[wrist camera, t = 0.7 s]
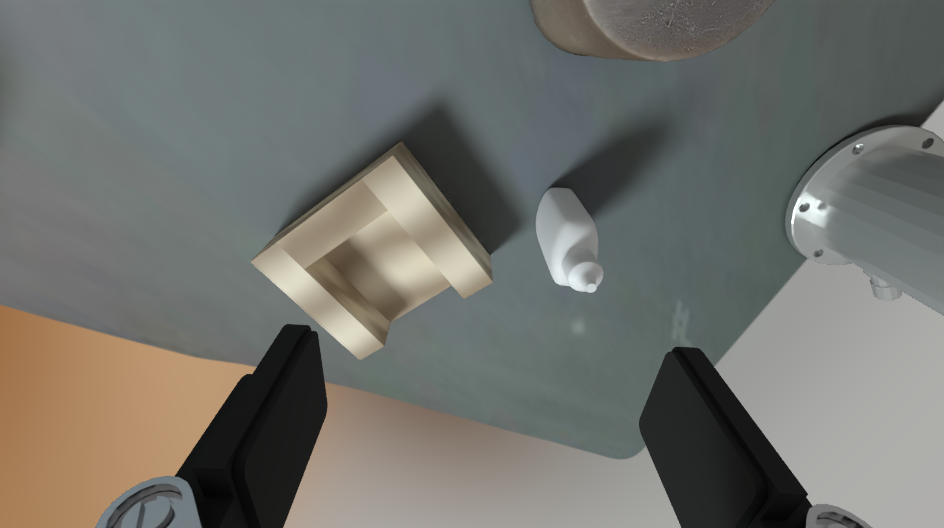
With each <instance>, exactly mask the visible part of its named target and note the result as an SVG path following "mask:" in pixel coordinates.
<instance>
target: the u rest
mask: <svg viewBox="0 0 944 528" xmlns="http://www.w3.org/2000/svg"><path fill="white" fill-rule="evenodd" d="M251 263H252V264H253V265H254V266H256V267H257V268H258V269H259V270H260V271H261V272H262V273H263V274H264V275H266V276H267V277H268V278H269V279H270V280H271V281H272V282H273V283H274V284H276V285H277V286H278V287H279V288H280V289H281V290H282V291H283V292H284V293H286V294H287V295H288V296H289V297H290V298H291V299H292V300H293V301H294V302H296V303H297V304H298V305H299V306H300V307H301V308H302V309H303V310H304V311H306V312H307V313H308V314H309V315H310V316H311V317H312V318H313V319H314V320H316V321H317V322H318V323H319V324H320V325H321V326H322V327H323V328H324V329H326V330H327V331H328V332H329V333H330V334H331V335H332V336H333V337H335V338H336V339H337V340H338V341H339V342H340V343H341V344H342V345H343V346H345V347H346V348H347V349H348V350H349V351H350V352H351V353H352V354H353V355H355V356H356V357H357V358H358V359H359V360H361V359H363V358H365V357H367V356H368V355H370V354H372V353H373V352H375V351H377V350H378V349H380V348H382V347H384V345H385V341H386V337H387V334H388V330H389V326H390V323H391V322H392V321H394V320H396V319H397V318H399V317H401V316H402V315H404V314H405V313H407V312H409V311H410V310H412V309H414V308H415V307H417V306H419V305H420V304H422V303H424V302H425V301H427V300H429V299H430V298H432V297H434V296H435V295H437V294H438V293H440V292H442V291H443V290H445V289H447V288H448V287H450V286H453V287H454V288H455V289H456V290H457V292H458V293H459V294H460V295H461V296H462V297H463V299H465V298H467V297H468V296H470V295H472V294H474V293H475V292H477V291H479V290H480V289H482V288H484V287H485V286H487V285H489V284H491V283H492V282H493V278H492V270H491V261H490V255H489V254H488V253H487V251H486V250H485V249H484V247H483V246H482V245H481V244H480V242H479V241H478V240H477V238H476V237H475V236H474V234H473V233H472V232H471V231H470V229H469V228H468V227H467V225H466V224H465V223H464V221H463V220H462V219H461V217H460V216H459V215H458V214H457V212H456V211H455V210H454V208H453V207H452V206H451V204H450V203H449V202H448V200H447V199H446V198H445V197H444V195H443V194H442V193H441V191H440V190H439V189H438V187H437V186H436V185H435V183H434V182H433V181H432V180H431V178H430V177H429V176H428V174H427V173H426V172H425V170H424V169H423V168H422V166H421V165H420V164H419V163H418V161H417V160H416V159H415V157H414V156H413V155H412V153H411V152H410V151H409V149H408V148H407V147H406V146H405V144H404V143H403V142H402V141H400V142H399V143H398V144H397V145H395V146H394V147H393V148H391V149H390V150H389V151H387V152H386V153H385V154H383V155H382V156H381V157H379V158H378V159H377V160H375V161H374V162H373V163H371V164H370V165H369V166H367V167H366V168H365V169H363V170H362V171H361V172H359V173H358V174H357V175H355V176H354V177H353V178H351V179H350V180H349V181H347V182H346V183H345V184H343V185H342V186H341V187H339V188H338V189H337V190H336V191H334V192H333V193H332V194H330V195H329V196H328V197H326V198H325V199H324V200H322V201H321V202H320V203H318V204H317V205H316V206H314V207H313V208H312V209H310V210H309V211H308V212H306V213H305V214H304V215H302V216H301V217H300V218H298V219H297V220H296V221H294V222H293V223H292V224H290V225H289V226H288V227H286V228H285V229H284V230H282V231H281V232H280V233H279V234H277V235H276V236H275V237H273V238H272V240H271V241H270V242H269V243H268V244H267V245H266V246H265V247H264V248H263V249H262V250H261V251H260V252H259V253H258V254H257V255H256V256H255V257H254V258H253V260H252V261H251Z"/></svg>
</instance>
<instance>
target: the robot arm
mask: <svg viewBox="0 0 944 528" xmlns="http://www.w3.org/2000/svg"><path fill="white" fill-rule="evenodd" d="M785 228H786V233H787V237H788V239H789V241H790V243H791V245H792V246H793V247H794V248H795V249H796V250H797V251H798V252H799V253H801V254H803V255H804V256H805V257H807V258H808V259H811V260H813V261H815V262H818V263H822V264H827V265H844V264H851V263H854V264H855V265H857V266H859V267H860V268H862V269H863V272H864V273H865V274H866V275H867V276H869V277H870V278H871V279H870V283H871V287H872V291H873V294H874V296H875V297H876V298H877V299H880V300H885V301H889V300H895V299H898V298H899V297H900V296H901V295H902V292H904V293H906V294H907V295H909V296H911V297H912V298H914V299H916V300H918V301H919V302H921V303H923V304H924V305H926V306H928V307H930V308H931V309H933V310H935V311H936V312H938V313H940V314H942V315H943V316H944V142H943V140H942V139H941V138H939V137H938V136H937V135H936V134H935V133H933V132H930V131H928V130H926V129H923V128H919V127H914V126H909V125H886V126H880V127H875V128H872V129H869V130H866V131H863V132H860V133H858V134H856V135H854V136H852V137H850V138H848V139H846V140H844V141H842V142H841V143H839V144H838V145H837V146H835V147H834V148H832V149H831V150H829V151H828V152H827V153H826V154H824V155H823V156H822V157H821V158H820V159H819V160H818V161H816V162H815V163H814V165H813V166H812V167H811V168H810V169H809V170H808V171H807V172H806V174H805V175H804V176H803V177H802V179H801V180H800V182H799V183H798V185H797V186H796V188H795V190H794V192H793V194H792V196H791V199H790V201H789V204H788V208H787V211H786V219H785ZM326 413H327V397H326V389H325V382H324V375H323V368H322V361H321V354H320V346H319V339H318V334H317V332H316V331H311V328H310V326H308V325H293V324H286V325H285V326H284V327H283V328H282V329H281V331H280V333H279V334H278V336H277V337H276V339H275V340H274V342H273V343H272V345H271V346H270V348H269V349H268V351H267V353H266V354H265V356H264V357H263V359H262V360H261V362H260V363H259V365H258V366H257V368H256V370H255V371H254V373H253V374H246V375H245V376H243V377H242V378H241V379H240V381H239V382H238V383H237V385H236V386H235V388H234V389H233V391H232V392H231V394H230V395H229V397H228V398H227V400H226V401H225V403H224V404H223V405H222V407H221V409H220V410H219V411H218V413H217V414H216V416H215V417H214V419H213V420H212V422H211V423H210V425H209V426H208V428H207V429H206V431H205V432H204V434H203V435H202V437H201V438H200V440H199V441H198V443H197V444H196V446H195V447H194V448H193V450H192V451H191V453H190V454H189V456H188V457H187V459H186V460H185V462H184V463H183V465H182V466H181V468H180V469H179V471H178V472H177V474H176V475H175V477H173V476H164V477H157V478H153V479H150V480H148V481H145V482H142V483H140V484H138V485H136V486H135V487H133V488H131V489H130V490H128V491H126V492H125V493H124V494H122V495H121V496H120V497H119V498H117V499H116V500H115V501H114V502H112V504H111V505H110V506H109V507H108V508H107V509H106V511H105V512H104V513H103V514H102V516H101V517H100V519H99V521H98V523H97V525H96V527H95V528H283V526H284V524H285V521H286V519H287V516H288V513H289V510H290V508H291V506H292V503H293V500H294V498H295V495H296V493H297V490H298V487H299V485H300V482H301V479H302V477H303V474H304V471H305V469H306V466H307V464H308V461H309V459H310V456H311V453H312V451H313V448H314V446H315V443H316V440H317V437H318V435H319V432H320V430H321V427H322V425H323V422H324V419H325V417H326ZM639 428H640V432H641V435H642V437H643V439H644V442H645V444H646V446H647V448H648V451H649V453H650V456H651V458H652V460H653V463H654V465H655V467H656V470H657V472H658V474H659V477H660V479H661V481H662V484H663V486H664V488H665V491H666V493H667V495H668V497H669V500H670V502H671V504H672V506H673V509H674V511H675V514H676V516H677V518H678V521H679V523H680V525H681V528H872V527H871V526H869V525H868V524H867V523H866V522H865V521H863V520H861V519H860V518H858V517H857V516H855V515H854V514H852V513H850V512H848V511H846V510H844V509H841V508H839V507H836V506H832V505H828V504H817V505H815V506H812V505H811V504H810V502H809V501H808V499H807V498H806V496H807V495H808V494H807V492H806V491H805V489H804V488H803V487H802V486H801V484H800V483H799V481H798V480H797V479H796V477H795V476H794V475H793V473H792V472H791V470H790V469H789V468H788V466H787V465H786V464H785V462H784V461H783V460H782V458H781V457H780V456H779V454H778V453H777V452H776V450H775V449H774V448H773V446H772V445H771V443H770V442H769V441H768V439H767V438H766V437H765V435H764V434H763V433H762V431H761V430H760V429H759V427H758V426H757V425H756V423H755V422H754V421H753V420H752V418H751V417H750V415H749V414H748V412H747V411H746V410H745V408H744V407H743V406H742V404H741V403H740V402H739V400H738V399H737V398H736V396H735V395H734V393H733V392H732V391H731V389H730V388H729V387H728V385H727V384H726V383H725V381H724V380H723V379H722V377H721V376H720V375H719V373H718V372H717V370H716V369H715V368H714V366H713V365H712V364H711V362H710V361H709V360H708V358H707V357H706V356H705V354H704V353H703V352H702V351H701V350H700V349H698V348H690V347H675V348H674V349H673V350H672V351H671V352H668V353H667V354H666V355H665V358H664V360H663V363H662V365H661V368H660V370H659V373H658V375H657V377H656V380H655V382H654V385H653V387H652V390H651V392H650V395H649V397H648V400H647V402H646V405H645V407H644V410H643V412H642V414H641V417H640V420H639Z"/></svg>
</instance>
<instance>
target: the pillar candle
mask: <svg viewBox="0 0 944 528" xmlns="http://www.w3.org/2000/svg"><path fill="white" fill-rule="evenodd" d="M774 1H775V0H529V3H530V6H531V10H532V12H533V16H534V19H535V23H536V25H537V27H538V28H539V30H540V31H541V33H542V34H543V35H544V37H545V38H546V39H547V40H548V41H550V42H551V43H552V44H553V45H554V46H556V47H557V48H559V49H561V50H564V51H565V52H568V53H572V54H574V55H581V56H594V57H600V58H611V59H623V60H640V61H659V62H668V61H676V60H683V59H686V58H692V57H696V56H700V55H702V54H705V53H708V52H710V51H712V50H715V49H716V48H719V47H721V46H723V45H724V44H726V43H728V42H729V41H731V40H732V39H734V38H735V37H737V36H738V35H739V34H740V33H741V32H743V31H744V30H746V29H747V28H748V27H749V26H751V25H752V24H754V23H755V22H756V21H757V20H758V19H759V18H760V17H761V16H762V15H763V13H764V12H765V11H766V10H767V9H768V7H769V6H770V5H771V4H772V3H773V2H774Z"/></svg>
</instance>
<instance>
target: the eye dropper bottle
mask: <svg viewBox="0 0 944 528" xmlns="http://www.w3.org/2000/svg"><path fill="white" fill-rule="evenodd" d="M536 232H537V237H538V240H539V243H540V246H541V249H542V251H543V254H544V257H545V259H546V262H547V265H548V267H549V270H550V272H551V275H552V277H553V279H554V281H555V282H556V283H557V284H559V285H564V286H571V288H573V289H575V290H577V291H582V292H583V291H587V292H589V293H592V292H594V291H596V289H597V286H598V285H599V284H600V282H601V281H602V279H603V274H604V273H603V269H602V267H601V265H600V264H599V262H598V260H597V255H598V235H597V230H596V226H595V224H594V221H593V220H592V218H591V217H590V215H589V214H588V212H587V211H586V209H585V208H584V206H583V205H582V204H581V202H580V201H579V199H578V198H577V196H576V195H575V194H574V192H573V191H572V190H571V189H568V188H550V189H548V190H547V191H546V193H545V194H544V196H543V198H542V200H541V202H540V204H539V207H538V211H537V215H536Z"/></svg>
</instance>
